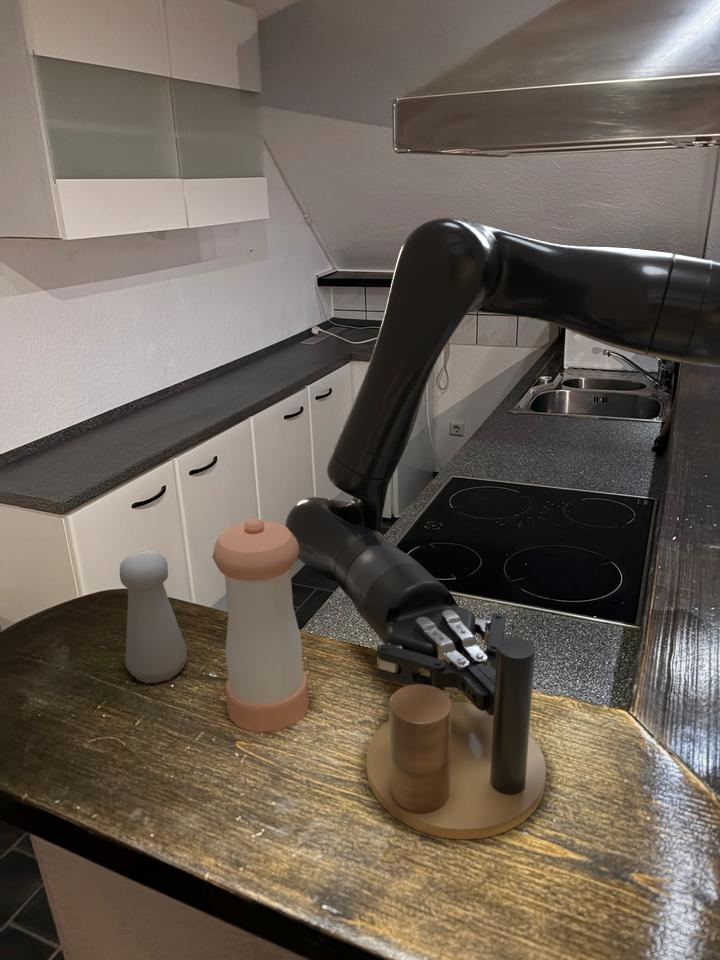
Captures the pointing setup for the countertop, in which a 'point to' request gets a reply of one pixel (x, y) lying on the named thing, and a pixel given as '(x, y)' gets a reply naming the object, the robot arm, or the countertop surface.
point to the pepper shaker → (261, 626)
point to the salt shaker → (150, 620)
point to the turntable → (461, 755)
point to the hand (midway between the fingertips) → (500, 703)
